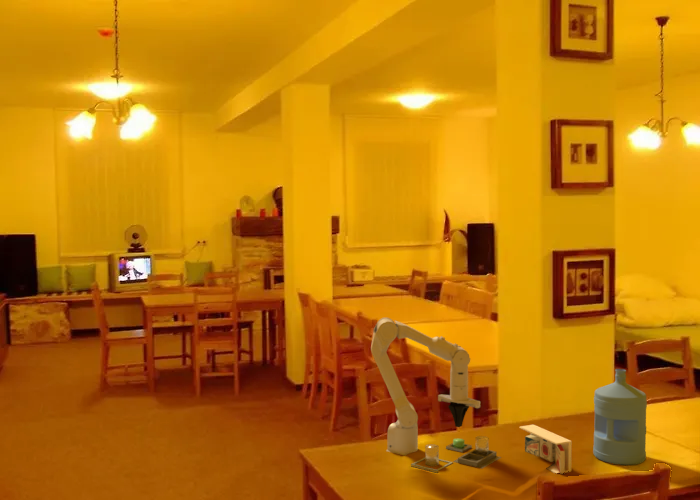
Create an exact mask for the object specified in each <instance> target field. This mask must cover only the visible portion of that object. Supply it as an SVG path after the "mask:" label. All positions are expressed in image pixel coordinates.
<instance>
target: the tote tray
mask: <svg viewBox="0 0 700 500" xmlns="http://www.w3.org/2000/svg"><path fill="white" fill-rule="evenodd" d="M424 460H425V457H422V458H421V459H419V460H416V461H415V462H412V463H411V464H410V467H411V468H414V469H419V470H422V471H426V472H431V473H433V474H439V471H441V470H442V469H444V468H447V467H448V466H450V465H452V464H453V463H454V462H453V461H449V460H446V459H440V458H439V461H441V462H444V463H447V464H445V465H443V466H441V467H438V468H437V469H436V468H435V469H434V468H432V467H431V468H430V467H429V466H423V465H419V463H420V462H423V461H424Z"/></svg>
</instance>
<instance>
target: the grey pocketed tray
mask: <svg viewBox="0 0 700 500" xmlns="http://www.w3.org/2000/svg"><path fill="white" fill-rule="evenodd" d="M501 458H502V457H501V456H497V451H494V450H489V455H487V456H481V455H477V454H476V448H474V449H473V450H470V451H469V452H467V453H465V454H463V455H461V456H459V457H457V459H456V460H455V459H454V460H453V461H452V462H453V463H457V464H461V465H466V466H471V467H473V468H479V469H484V468H486V467H488V466H489V465H491V464H493V463H494V462H496V461H498V460H500V459H501Z"/></svg>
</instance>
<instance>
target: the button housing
mask: <svg viewBox="0 0 700 500" xmlns="http://www.w3.org/2000/svg"><path fill="white" fill-rule="evenodd" d="M472 447H473V446H472V444H468V443H464V447H463V448H462V449H461V448H456V447H453V442H452V443H450V444H448V445H446V446H445V449H446V450H450V451H453V452H454V451H455V452H458V453H464V452H466V451H468V450H470V449H472Z"/></svg>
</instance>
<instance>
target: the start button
mask: <svg viewBox="0 0 700 500" xmlns="http://www.w3.org/2000/svg"><path fill="white" fill-rule="evenodd" d="M452 443H453V447H456V448H461V449H462V448H463V447H464V444H465V439H463V438H453V440H452Z"/></svg>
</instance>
